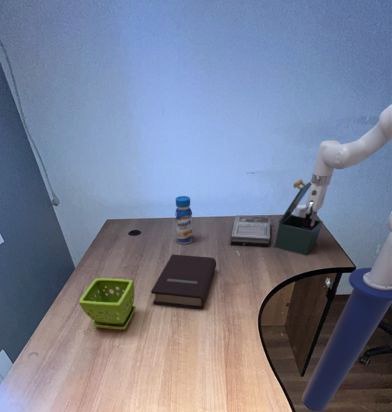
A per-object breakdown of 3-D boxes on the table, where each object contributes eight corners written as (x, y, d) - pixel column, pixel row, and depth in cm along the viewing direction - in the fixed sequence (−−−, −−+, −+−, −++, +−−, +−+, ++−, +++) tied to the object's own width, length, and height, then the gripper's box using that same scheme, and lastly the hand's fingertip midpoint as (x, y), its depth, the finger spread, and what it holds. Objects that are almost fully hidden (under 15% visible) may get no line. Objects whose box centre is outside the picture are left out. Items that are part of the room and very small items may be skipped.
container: (298, 247, 126) (306, 214, 116) (297, 243, 130) (305, 210, 119) (308, 247, 126) (317, 214, 115) (307, 243, 129) (316, 210, 118)
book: (204, 310, 97) (204, 296, 92) (153, 304, 100) (151, 291, 95) (216, 270, 115) (216, 257, 111) (173, 266, 118) (171, 254, 114)
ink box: (304, 226, 145) (310, 203, 136) (309, 230, 141) (315, 206, 133) (290, 228, 143) (295, 205, 135) (294, 232, 140) (300, 208, 131)
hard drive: (230, 245, 132) (231, 236, 129) (235, 223, 150) (236, 215, 147) (268, 247, 129) (269, 238, 126) (268, 225, 147) (269, 216, 144)
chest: (315, 243, 130) (322, 221, 122) (306, 255, 123) (312, 231, 115) (285, 236, 137) (290, 214, 129) (274, 246, 129) (279, 224, 121)
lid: (314, 180, 115) (305, 173, 115) (302, 189, 107) (293, 181, 108) (291, 214, 129) (283, 207, 129) (279, 223, 121) (271, 216, 122)
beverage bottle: (194, 237, 139) (193, 195, 124) (192, 244, 133) (190, 201, 119) (178, 236, 140) (175, 194, 125) (175, 244, 134) (171, 201, 120)
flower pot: (105, 306, 99) (95, 276, 90) (141, 309, 98) (134, 279, 88) (89, 331, 90) (76, 301, 81) (128, 335, 88) (119, 304, 79)
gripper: (323, 186, 101) (309, 233, 115) (336, 175, 111) (322, 220, 124) (304, 183, 104) (293, 229, 118) (318, 173, 114) (306, 217, 127)
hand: (308, 224), depth 121 cm, fingers closed on container, 4 cm apart
